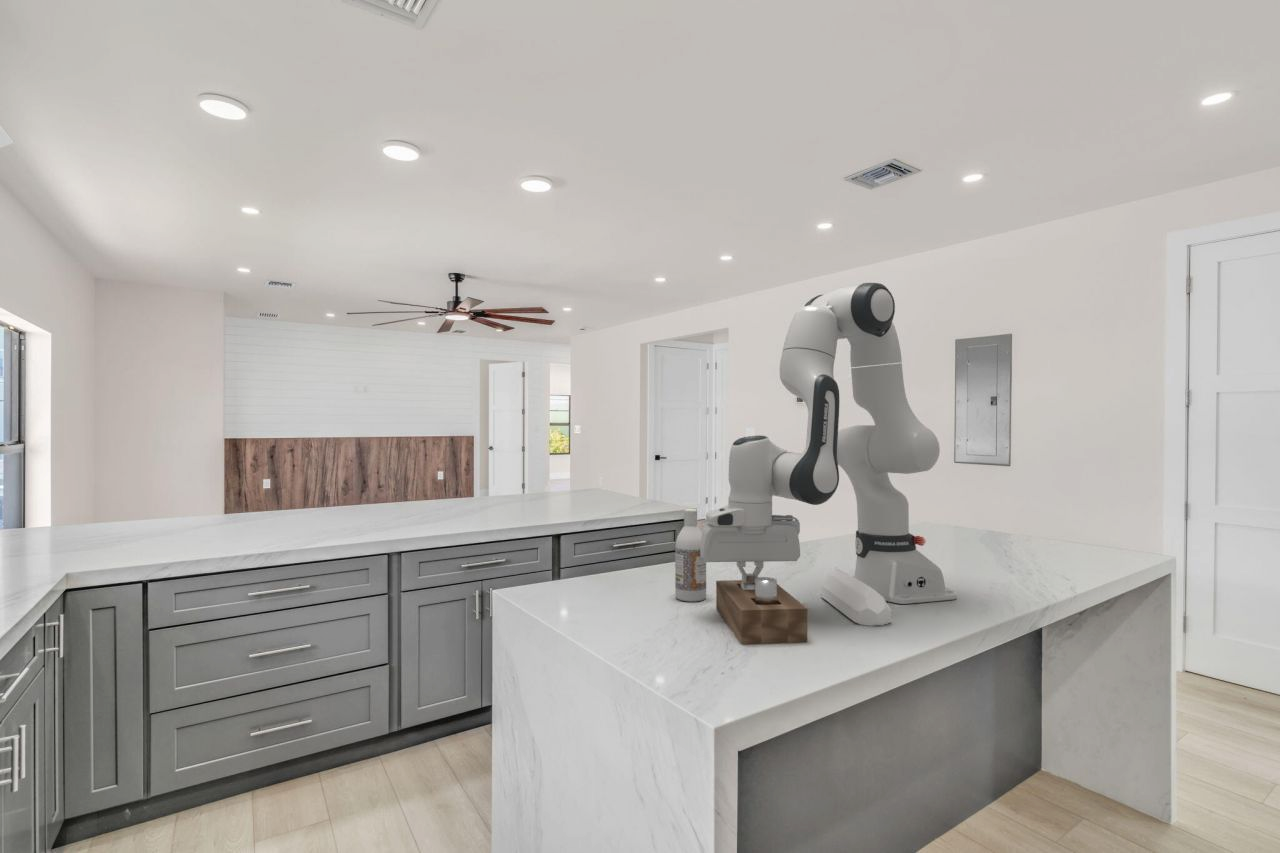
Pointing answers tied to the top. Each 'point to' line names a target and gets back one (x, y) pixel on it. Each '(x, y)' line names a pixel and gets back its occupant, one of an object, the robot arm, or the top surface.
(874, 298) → the robot arm
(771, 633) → the brown wooden block
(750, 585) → the peg
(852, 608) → the crystal
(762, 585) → the peg
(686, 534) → the bath foam
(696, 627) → the top surface
